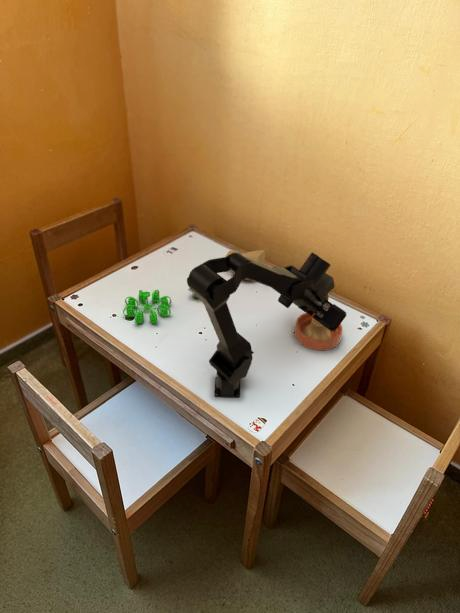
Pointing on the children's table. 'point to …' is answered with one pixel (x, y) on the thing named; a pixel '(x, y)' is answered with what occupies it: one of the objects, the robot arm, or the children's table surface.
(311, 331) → the hand bell
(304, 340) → the bowl
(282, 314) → the children's table surface
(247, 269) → the robot arm
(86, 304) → the children's table surface
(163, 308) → the chandelier
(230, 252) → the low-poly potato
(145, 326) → the children's table surface
